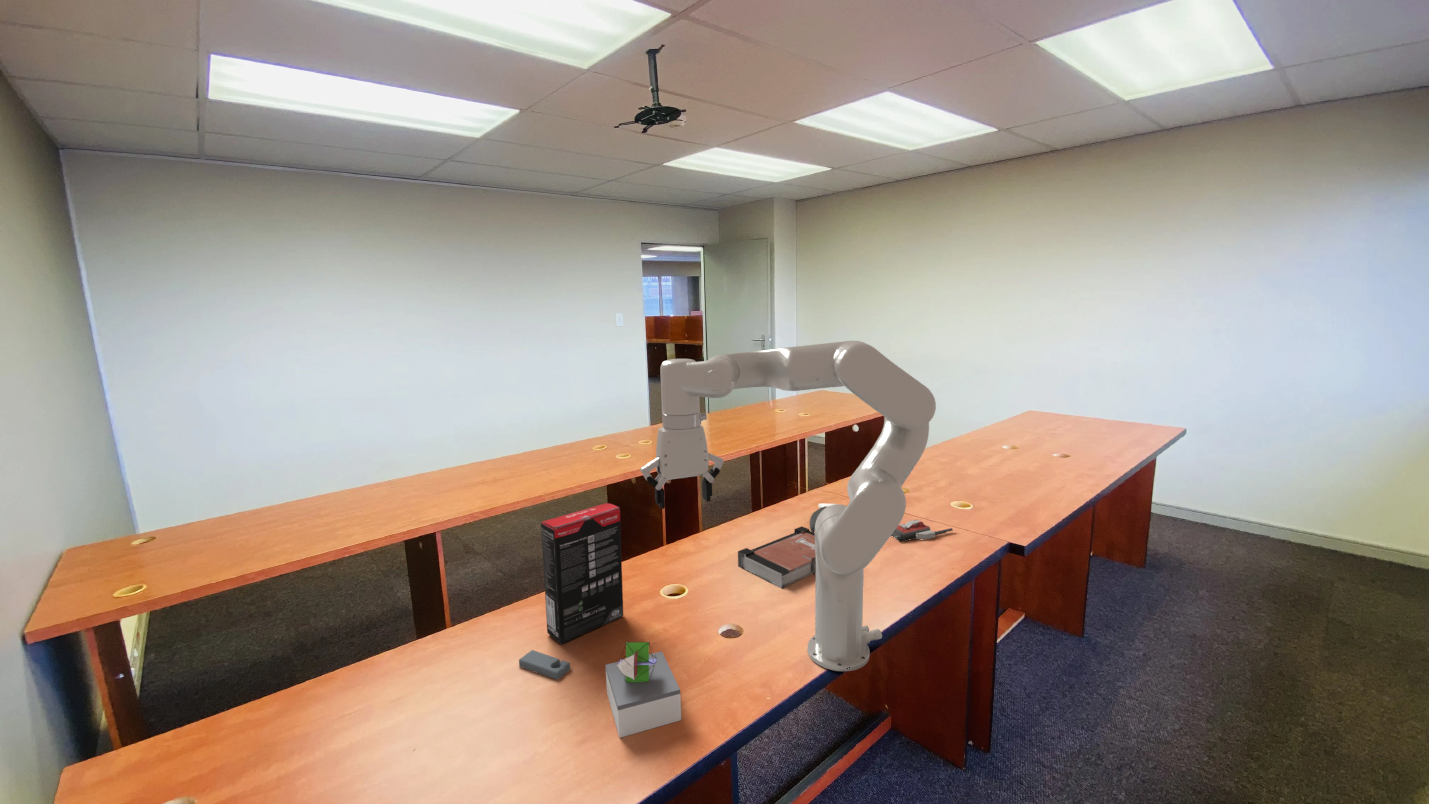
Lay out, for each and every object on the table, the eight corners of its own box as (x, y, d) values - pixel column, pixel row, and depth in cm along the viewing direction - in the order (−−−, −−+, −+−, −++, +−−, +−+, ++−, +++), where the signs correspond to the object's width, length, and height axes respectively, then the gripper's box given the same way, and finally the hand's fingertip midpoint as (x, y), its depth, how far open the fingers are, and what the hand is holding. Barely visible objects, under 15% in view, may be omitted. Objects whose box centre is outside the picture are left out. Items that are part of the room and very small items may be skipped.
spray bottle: (808, 533, 180) (812, 507, 204) (843, 535, 178) (843, 509, 201) (808, 524, 180) (812, 499, 203) (843, 526, 177) (843, 501, 201)
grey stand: (663, 679, 111) (661, 651, 110) (681, 720, 100) (680, 689, 99) (607, 693, 107) (605, 664, 106) (619, 737, 96) (617, 706, 95)
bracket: (532, 657, 120) (532, 649, 119) (571, 670, 115) (570, 661, 115) (518, 668, 116) (518, 659, 116) (557, 682, 112) (557, 673, 111)
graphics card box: (610, 606, 139) (604, 499, 134) (627, 616, 134) (621, 506, 129) (546, 635, 127) (537, 520, 122) (562, 648, 122) (553, 528, 117)
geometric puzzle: (623, 649, 107) (617, 633, 101) (659, 649, 107) (655, 632, 101) (619, 690, 102) (612, 676, 96) (657, 690, 102) (652, 675, 96)
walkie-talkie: (903, 546, 169) (954, 534, 176) (904, 532, 168) (955, 521, 176) (884, 536, 177) (934, 525, 184) (884, 522, 176) (934, 512, 184)
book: (783, 591, 145) (783, 573, 144) (738, 568, 158) (737, 551, 157) (847, 560, 161) (848, 543, 160) (801, 541, 174) (801, 526, 173)
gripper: (715, 414, 119) (717, 492, 122) (634, 421, 113) (638, 503, 116) (728, 420, 112) (730, 502, 115) (643, 429, 106) (647, 515, 109)
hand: (684, 503), depth 116 cm, fingers open, 9 cm apart
